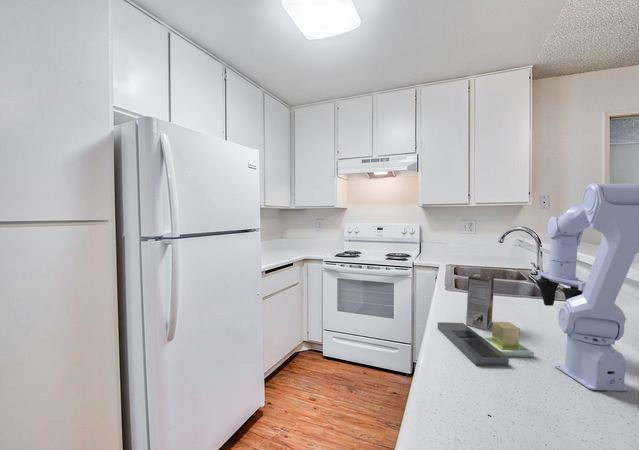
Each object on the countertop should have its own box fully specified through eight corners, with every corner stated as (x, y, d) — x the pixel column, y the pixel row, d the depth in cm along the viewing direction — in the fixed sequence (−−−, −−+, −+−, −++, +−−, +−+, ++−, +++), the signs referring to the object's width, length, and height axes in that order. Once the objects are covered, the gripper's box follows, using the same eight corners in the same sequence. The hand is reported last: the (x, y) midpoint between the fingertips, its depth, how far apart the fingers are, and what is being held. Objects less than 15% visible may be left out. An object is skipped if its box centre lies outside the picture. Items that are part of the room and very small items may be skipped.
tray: (533, 357, 75) (534, 352, 75) (498, 356, 75) (499, 351, 74) (510, 341, 84) (510, 336, 84) (479, 341, 84) (479, 336, 83)
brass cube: (518, 350, 77) (519, 328, 77) (501, 350, 77) (502, 328, 77) (507, 343, 81) (508, 322, 81) (491, 342, 81) (492, 321, 81)
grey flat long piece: (508, 365, 70) (508, 357, 70) (475, 365, 70) (475, 356, 70) (462, 329, 92) (463, 322, 92) (437, 328, 92) (437, 321, 92)
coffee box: (471, 317, 103) (473, 272, 102) (492, 322, 99) (495, 275, 98) (465, 324, 96) (467, 276, 95) (487, 330, 92) (490, 279, 91)
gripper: (602, 266, 73) (599, 319, 74) (555, 257, 87) (552, 301, 88) (575, 265, 73) (571, 319, 74) (532, 256, 87) (529, 301, 88)
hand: (559, 309), depth 81 cm, fingers open, 7 cm apart
